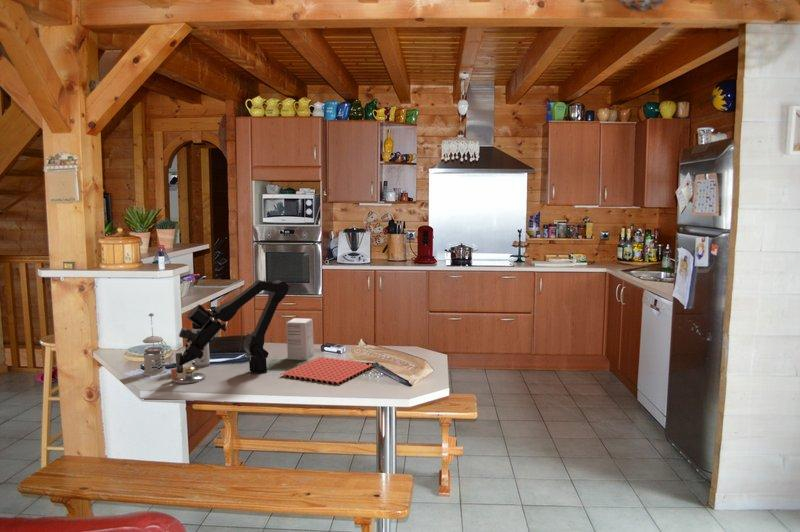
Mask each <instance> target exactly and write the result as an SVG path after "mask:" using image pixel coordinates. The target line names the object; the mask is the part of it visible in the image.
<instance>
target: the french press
mask: <svg viewBox="0 0 800 532" xmlns="http://www.w3.org/2000/svg"><path fill="white" fill-rule="evenodd" d="M154 316H155V315H154V313H152V312H151V313H149V314H148V317H150V321H151V323H150V324H153V317H154ZM151 334H152V335H150V336H148V337H145V338H144V339H143V340H142V343H143V344H152V347H148V348H145V349H144V353H143V362H144V365H143V366H144V371H143V372H142V375H143V376H147V377H148V376H150V377H152V376H158V375H157V374H160V375H163V374H165V373H164V372H165V371H166V370H167V369H166V366H165V365H166V364H165V363H166V362H165V357H166V356H167V354H168V353H167V352H168V346H167V342H165V341H164V338H163V337H161V336H158V335H154V333H153V328H151ZM157 343H158V345H162V346H163V347H161V346H159V347H158V346H157V347H156V346H155V347H154V344H157ZM164 344H165V345H164ZM165 347H166V351H165ZM158 365H160V366H159V367H157V368H152V367H156V366H158ZM162 365H163V367H162ZM160 367H162V368H160ZM158 368H160V369H158ZM165 369H166V370H165ZM162 373H163V374H162Z"/></svg>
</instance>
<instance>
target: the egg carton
mask: <svg viewBox="0 0 800 532" xmlns="http://www.w3.org/2000/svg"><path fill="white" fill-rule="evenodd" d="M362 362H363V361H358V362H357V361H354V360H348V359H346V360H345V359H343V358H342V359H339V358H335V359H334V357H331V358H329V357H324V356H319V357H317V358H315V359H312V360H310V361H307V362H306V363H303V364H300V365H299V366H296V367H293V368H292V369H288V370H285V371H284V372H280V376H281V375H283V377H285V378H287V377H286V376H288V377H289V379H291V378H292V377H293V378H294V380H296V379H297V377H298V378H299V380H300V381H301V380H302V378H303V379H304V381H306V382H307V379H308V380H310V382H313V380H314V381H315V383H318V380H319V382H321V383H320V384H323V382H324V383H325V382H326V384H327V385H329V382H330V383H331V384H332V385H334V383H335V384H337V386H338V387H339V386H340V382H341V384H342V385H343V382H345V383H347V379H348V381H350V379H354V375H355V377H357V376H358V375H359V376H360V375H361V374H364V371H365V372H367V369H368V370H369V369H370V370H371V367H372V363H369V365H367V364H366V363H367V362H364V363H362ZM362 364H363V365H362ZM361 372H362V373H361Z"/></svg>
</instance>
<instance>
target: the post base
mask: <svg viewBox="0 0 800 532" xmlns="http://www.w3.org/2000/svg"><path fill="white" fill-rule="evenodd" d="M170 374H171V375H170V376H171V381H173V383H174V384H178V385H188V384H195V383H199V381H200V382H203V381H204V380H205V379H206V375H205V374H204V373H202V372H192V373H185V374H183V375H178V373H177V369H176V367H173V368H170Z"/></svg>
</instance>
